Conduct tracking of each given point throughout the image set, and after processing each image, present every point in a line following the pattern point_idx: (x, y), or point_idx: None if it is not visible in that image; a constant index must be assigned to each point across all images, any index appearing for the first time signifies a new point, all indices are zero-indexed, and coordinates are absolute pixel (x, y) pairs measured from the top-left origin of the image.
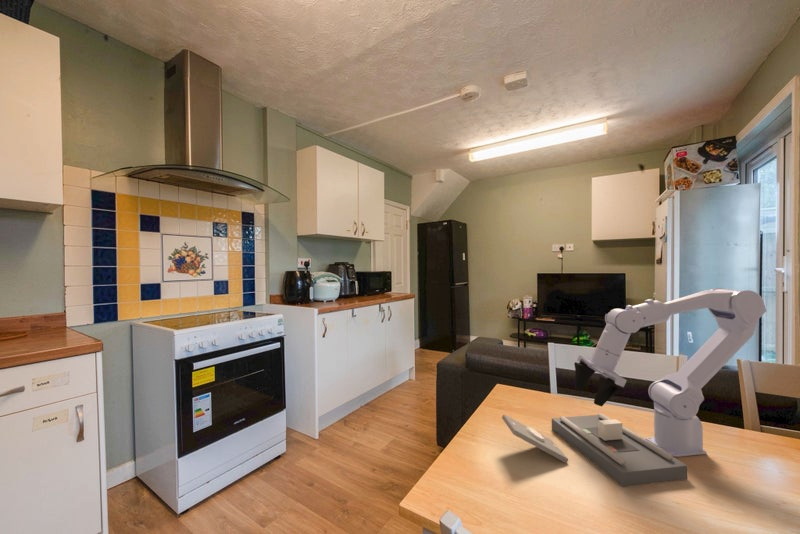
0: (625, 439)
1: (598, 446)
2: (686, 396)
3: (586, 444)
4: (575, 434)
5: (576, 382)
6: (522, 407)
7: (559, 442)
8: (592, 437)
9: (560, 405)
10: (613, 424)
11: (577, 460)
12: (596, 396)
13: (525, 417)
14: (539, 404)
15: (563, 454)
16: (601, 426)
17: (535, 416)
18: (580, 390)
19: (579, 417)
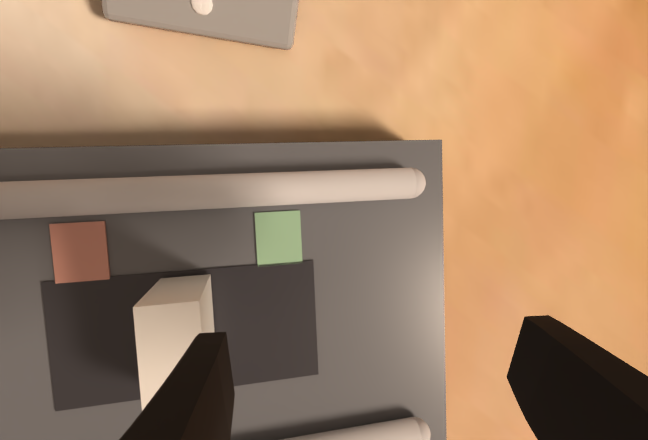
0: None
1: (67, 180)
2: None
3: (141, 150)
4: (253, 159)
5: (591, 363)
6: (623, 126)
7: (292, 104)
8: (142, 195)
9: (612, 335)
10: (140, 380)
11: (130, 88)
12: (184, 391)
13: (532, 79)
14: (637, 234)
15: (135, 9)
16: (170, 295)
17: (534, 139)
18: (512, 371)
19: (431, 310)
